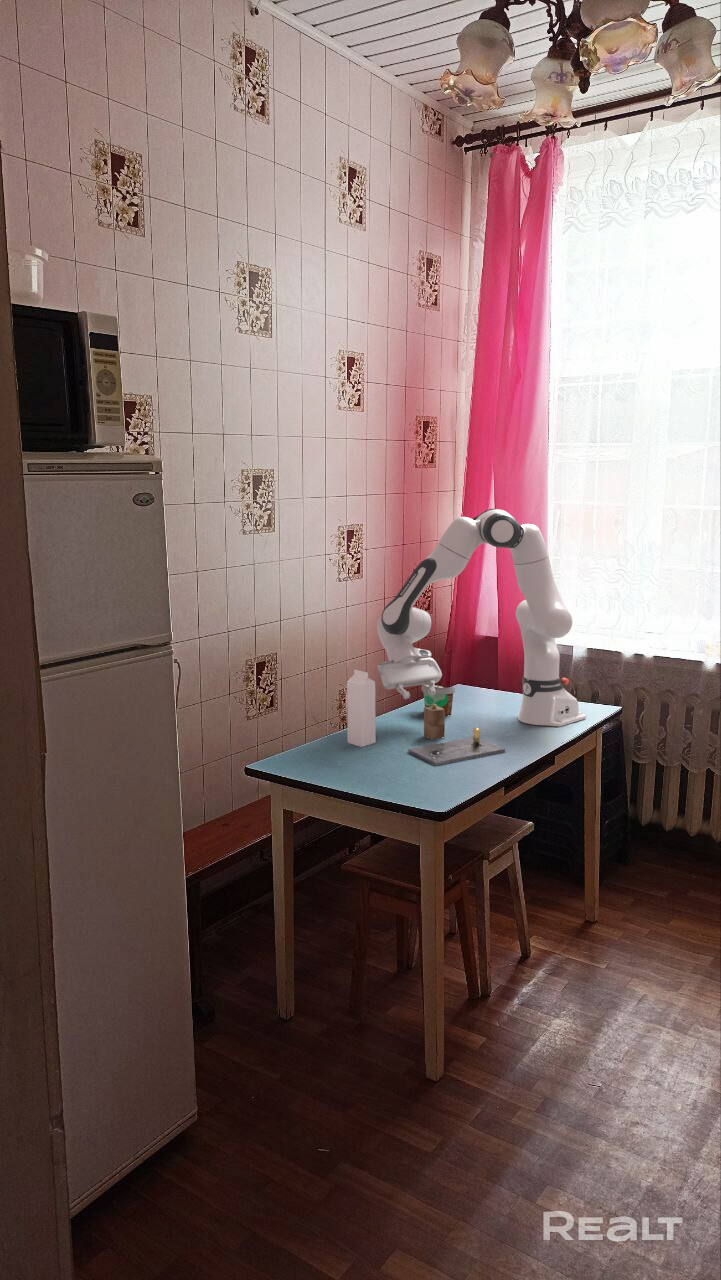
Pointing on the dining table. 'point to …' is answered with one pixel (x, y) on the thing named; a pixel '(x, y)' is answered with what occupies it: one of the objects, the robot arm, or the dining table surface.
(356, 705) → the milk
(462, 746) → the bolt plate
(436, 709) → the walnut peg
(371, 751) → the dining table surface
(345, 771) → the dining table surface
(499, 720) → the dining table surface
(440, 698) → the food container
